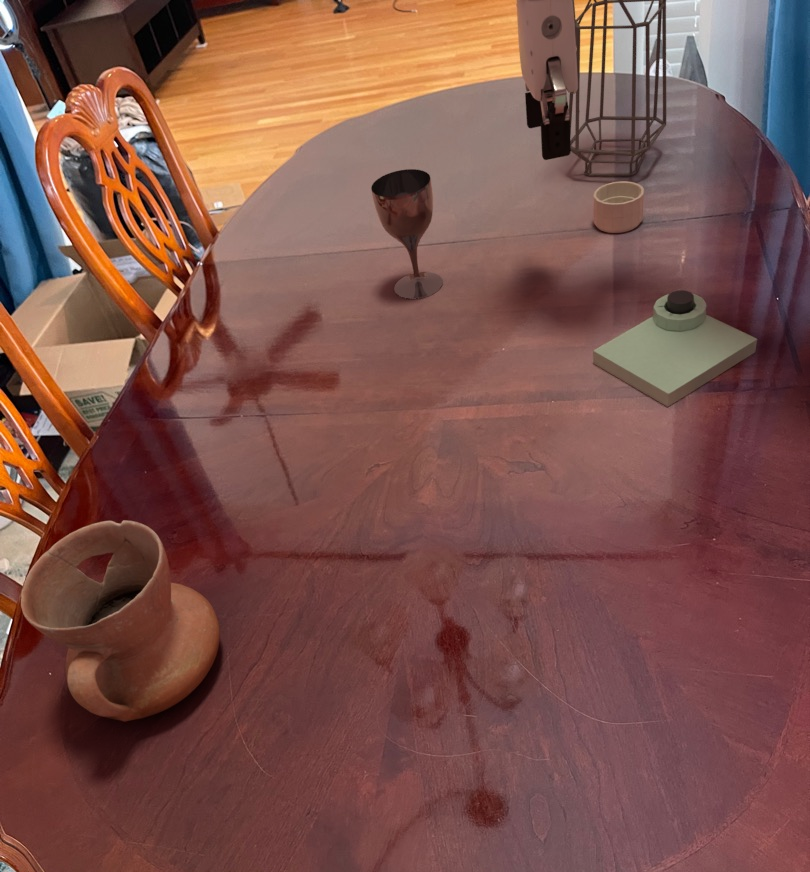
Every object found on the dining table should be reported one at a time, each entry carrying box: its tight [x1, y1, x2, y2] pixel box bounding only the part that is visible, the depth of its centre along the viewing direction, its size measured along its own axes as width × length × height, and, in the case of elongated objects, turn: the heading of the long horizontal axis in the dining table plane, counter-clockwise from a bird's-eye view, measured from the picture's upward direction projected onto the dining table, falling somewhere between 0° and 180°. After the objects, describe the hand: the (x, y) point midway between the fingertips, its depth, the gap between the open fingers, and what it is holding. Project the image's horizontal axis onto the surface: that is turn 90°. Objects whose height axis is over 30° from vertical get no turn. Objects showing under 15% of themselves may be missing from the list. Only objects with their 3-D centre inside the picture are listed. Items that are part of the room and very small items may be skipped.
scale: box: [592, 292, 758, 408], centre depth 96 cm, size 14×12×4 cm
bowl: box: [593, 180, 645, 234], centre depth 119 cm, size 7×7×4 cm
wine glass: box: [370, 168, 444, 300], centre depth 112 cm, size 8×8×15 cm
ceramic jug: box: [20, 519, 221, 722], centre depth 73 cm, size 18×14×14 cm
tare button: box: [667, 289, 694, 314], centre depth 97 cm, size 3×3×2 cm
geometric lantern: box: [568, 0, 667, 177], centre depth 120 cm, size 16×16×35 cm
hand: (548, 140), depth 97 cm, fingers open, 9 cm apart
